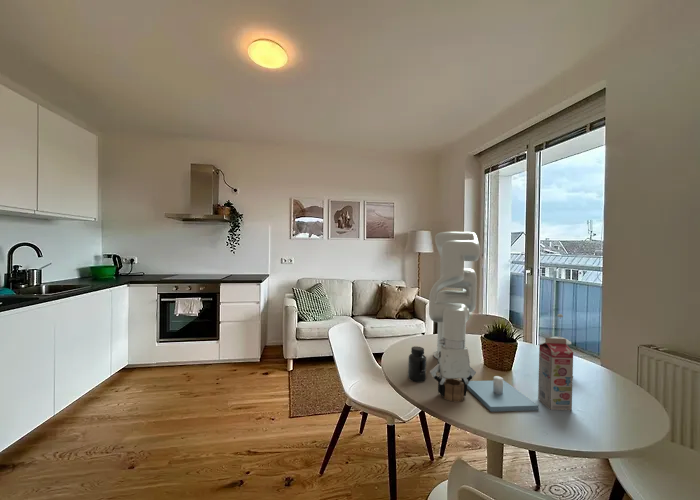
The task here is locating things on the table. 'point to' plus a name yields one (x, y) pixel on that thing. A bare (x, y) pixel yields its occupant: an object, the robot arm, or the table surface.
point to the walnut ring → (454, 390)
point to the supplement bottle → (417, 365)
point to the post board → (500, 396)
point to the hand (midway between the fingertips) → (452, 393)
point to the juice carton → (555, 374)
